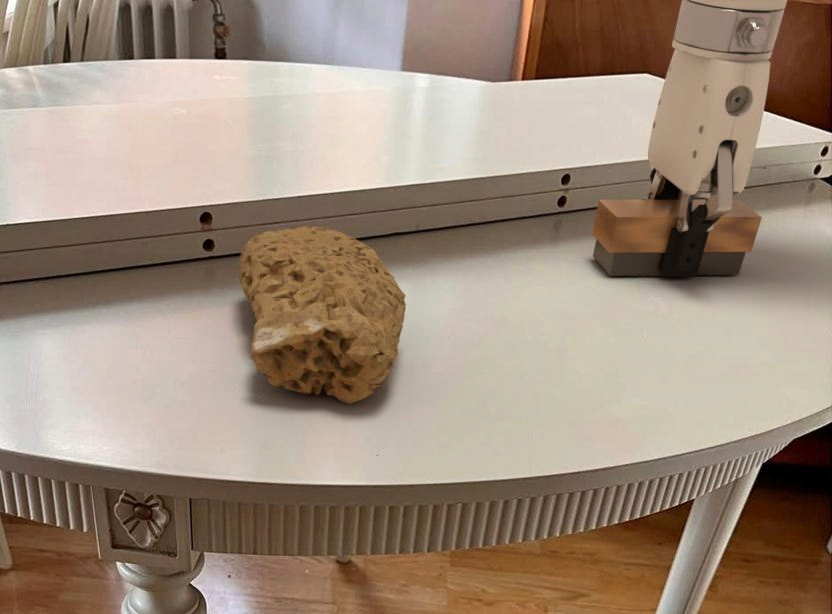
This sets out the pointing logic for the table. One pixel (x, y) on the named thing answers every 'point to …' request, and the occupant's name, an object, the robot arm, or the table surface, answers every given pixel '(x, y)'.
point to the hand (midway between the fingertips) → (666, 261)
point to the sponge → (321, 311)
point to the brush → (667, 237)
